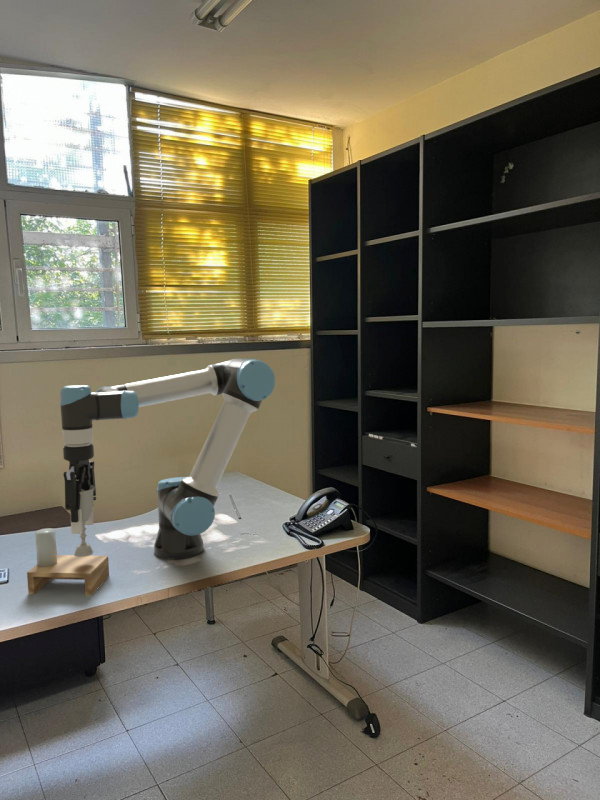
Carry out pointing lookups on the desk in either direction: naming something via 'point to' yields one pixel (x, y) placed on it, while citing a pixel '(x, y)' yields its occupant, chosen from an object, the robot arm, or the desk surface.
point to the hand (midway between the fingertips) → (82, 528)
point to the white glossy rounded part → (46, 547)
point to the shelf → (71, 572)
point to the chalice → (86, 508)
